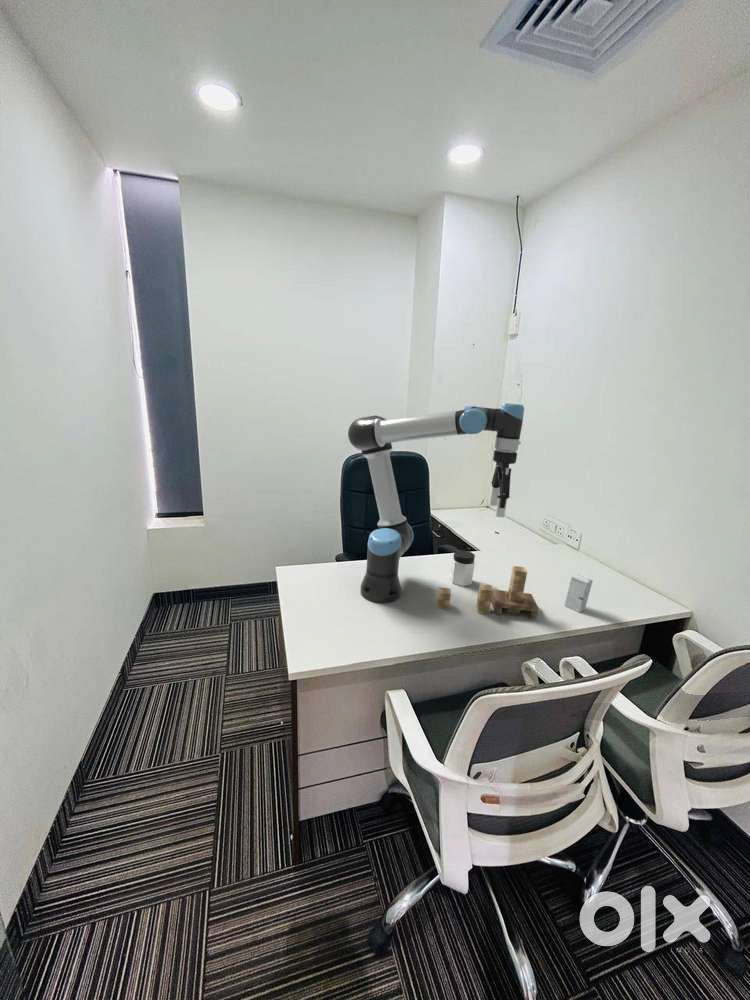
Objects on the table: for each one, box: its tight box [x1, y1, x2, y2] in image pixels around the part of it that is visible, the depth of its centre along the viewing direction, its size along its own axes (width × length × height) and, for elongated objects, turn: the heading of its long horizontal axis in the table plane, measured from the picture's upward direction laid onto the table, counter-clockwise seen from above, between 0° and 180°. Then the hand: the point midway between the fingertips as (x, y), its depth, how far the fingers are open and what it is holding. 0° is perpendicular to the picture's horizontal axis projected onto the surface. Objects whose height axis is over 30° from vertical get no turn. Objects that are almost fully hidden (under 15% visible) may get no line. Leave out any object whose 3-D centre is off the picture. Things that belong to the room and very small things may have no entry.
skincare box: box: [564, 573, 593, 613], centre depth 151 cm, size 6×4×12 cm
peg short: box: [436, 587, 452, 610], centre depth 147 cm, size 4×4×6 cm
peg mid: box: [475, 583, 494, 615], centre depth 145 cm, size 4×4×9 cm
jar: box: [449, 549, 476, 587], centre depth 166 cm, size 9×8×12 cm
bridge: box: [491, 589, 539, 620], centre depth 148 cm, size 14×10×4 cm
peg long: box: [506, 565, 528, 614], centre depth 146 cm, size 4×4×16 cm
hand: (496, 510), depth 145 cm, fingers open, 13 cm apart
